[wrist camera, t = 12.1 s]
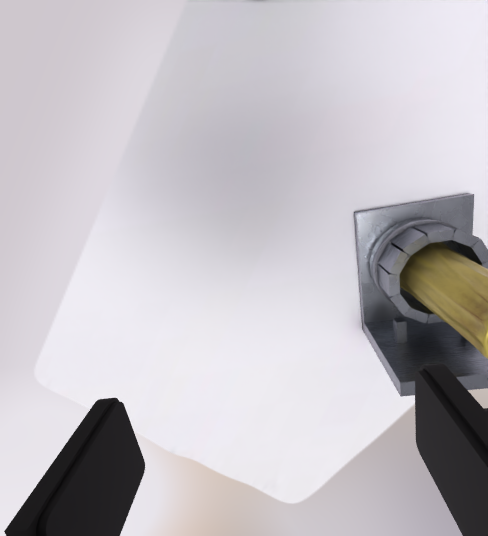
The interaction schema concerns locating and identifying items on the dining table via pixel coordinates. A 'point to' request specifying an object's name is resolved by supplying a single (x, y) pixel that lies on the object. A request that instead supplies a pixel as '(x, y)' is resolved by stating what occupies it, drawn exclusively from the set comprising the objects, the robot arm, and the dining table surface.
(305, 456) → the dining table surface
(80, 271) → the dining table surface
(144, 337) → the dining table surface
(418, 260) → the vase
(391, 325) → the cup bracket
